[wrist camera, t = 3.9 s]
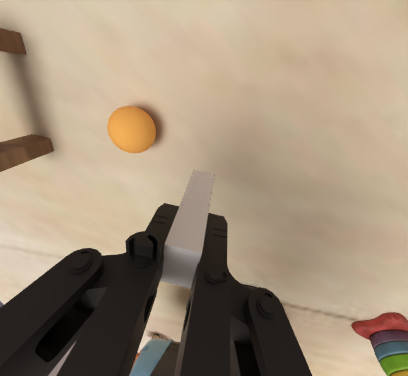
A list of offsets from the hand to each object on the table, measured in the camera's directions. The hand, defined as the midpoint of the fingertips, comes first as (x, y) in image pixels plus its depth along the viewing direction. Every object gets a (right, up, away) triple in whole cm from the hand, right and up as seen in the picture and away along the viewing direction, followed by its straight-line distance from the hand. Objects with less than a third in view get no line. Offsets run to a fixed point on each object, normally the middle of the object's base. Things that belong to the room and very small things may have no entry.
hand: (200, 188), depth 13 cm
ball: (-9, +7, +9) cm, 14 cm away
